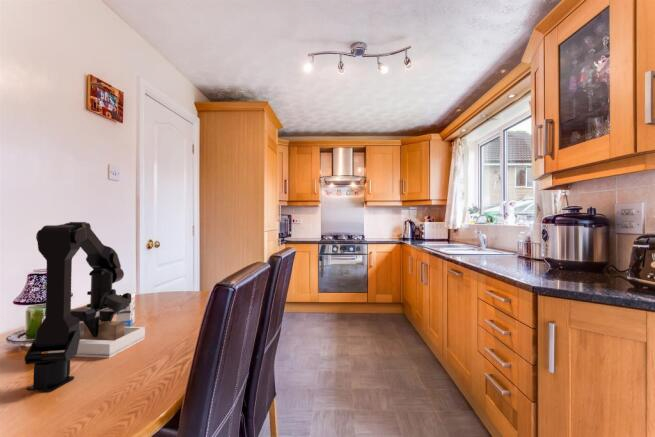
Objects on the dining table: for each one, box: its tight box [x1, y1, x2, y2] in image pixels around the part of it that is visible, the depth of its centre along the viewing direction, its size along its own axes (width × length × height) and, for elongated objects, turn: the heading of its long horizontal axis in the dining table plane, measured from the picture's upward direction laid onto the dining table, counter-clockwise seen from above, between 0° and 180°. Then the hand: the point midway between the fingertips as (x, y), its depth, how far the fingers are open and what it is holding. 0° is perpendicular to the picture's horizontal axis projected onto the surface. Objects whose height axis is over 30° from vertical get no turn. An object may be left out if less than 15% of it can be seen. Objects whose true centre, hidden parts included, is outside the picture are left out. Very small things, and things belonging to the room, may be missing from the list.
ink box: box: [116, 293, 136, 327], centre depth 123 cm, size 9×5×12 cm, turn 22°
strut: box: [79, 320, 125, 341], centre depth 101 cm, size 14×4×5 cm, turn 86°
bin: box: [47, 326, 146, 359], centre depth 101 cm, size 16×20×4 cm
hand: (100, 334), depth 101 cm, fingers closed on strut, 4 cm apart
